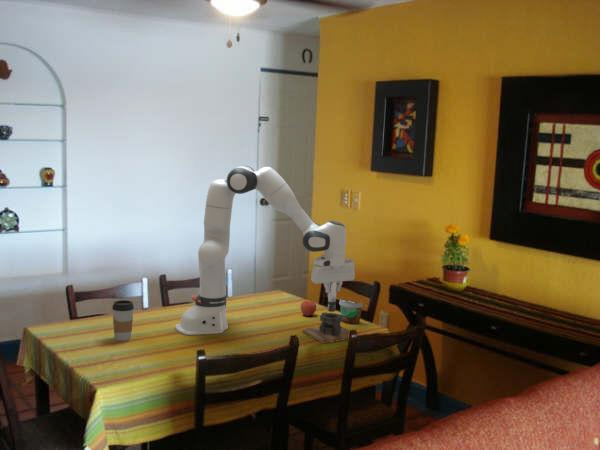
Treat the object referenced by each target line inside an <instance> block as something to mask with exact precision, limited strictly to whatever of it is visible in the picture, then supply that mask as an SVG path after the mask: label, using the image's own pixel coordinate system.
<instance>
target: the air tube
mask: <svg viewBox="0 0 600 450" xmlns="http://www.w3.org/2000/svg"><path fill="white" fill-rule="evenodd" d="M337 284H338V283H337V282H331V283H329V285H328V287H329V288H330V289H331V292H330V293H328V296H327V297H328V298H327V299H328V300H327V312H329V313H335V312H336V304H337V292H336V289H337Z"/></svg>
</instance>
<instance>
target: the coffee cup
mask: <svg viewBox="0 0 600 450" xmlns="http://www.w3.org/2000/svg"><path fill="white" fill-rule="evenodd" d="M133 303H134V302H133V301H131V300H126V299H125V300H124V299H123V300H122V299H121V300H115V301H114V302H113V304H112V308H111V309H112V321H113V334H114V337H113V338H114V339H115V341H116V342H128V341H130V340H131V338H132V330H133V319H134V317H133V315H134V309H135V308H134V304H133Z"/></svg>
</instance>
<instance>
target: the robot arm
mask: <svg viewBox="0 0 600 450" xmlns="http://www.w3.org/2000/svg"><path fill="white" fill-rule="evenodd" d="M229 171H230V172H229V173H228V174H227V176H226V178H225V179H220V178H219V179H215V180H212V181H211V183H210V184H209V188H208V192H207V194H206V201H205V208H204V216H203V217H204V218H203V219H204V220H203V229H204V232H203V234H204V235H203V242H202V244H201V245H200V246H199V248H198V253H197V254H198V271H199V293H198V296H196V295H192V296H191V297H190V299H191V300H192V302H195V303H194V304H193V305H192V306H191V307H189V308H188V309H187V310H185V311H184V312H183V313H182V314H181V319H180V322H179V323H176V324H175V327H174V328H175V330H176V331H177V332H178V333H180V334H183V335H185V336H195V335H196V336H197V335H198V336H199V335H215V334H223V333H224V331H226V330H227V329H229V325H228V320H227V312H226V308H227V294H226V292H227V290H226V289H227V285H226V284H227V275H226V257H227V256H228V254H229V250H230V238H231V220H232V214H233V213H232V212H233V211H232V209H233V203H234V202H233V201H234V198H235V195H236V194H238V195H243V194H245V193H249V192H251V191H254V190H256V191H258V192H259V193H260V194H261V195H262V196H263V198H264V199H265V201H266V202H267V203H268V204H269V205H270V206H271V207H272V208H273V209H275V210H276V211H277V212H280V213H283V214H285V215H287V216H288V217H290V219H292V221H293V222H294V223H295V224H296V226H297V227H298V228H299V229H300V231H301V232H302V235H303V237H302V244H303V246H304V248H305V249H306V250H308V251H309V252H315V253H316V252H322V251H323V254H322V255H320V256H319V257H316V258H314V259H313V261H312V263H313V264H314V265H312V269H311V274H310V275H311V276H310V280H311V281H312V283H314V284H316V285H319V284H323V286H324V289H325V293H327V294H329V293H330V292H331V289H330V288H329V283H331V282H337V289H336V293H339V292H340V291H341V290H340V289H341V287H342V285H343V282H350V281H354V279H355V278H356V271H355V261H354V259H352V258H346V245H347V228H346V226H345V225H344V224H343V223H342V222H339V221H334V220H329V221H327V222H326V223H324V224H322V225H320V224H319V223H316V222H315V221H314V220H313V219H312V218H311V217H310V216H309V215H308V213H307V212H306V211H305V210H304V209H303V208H302V206H301V205H300V203H299V201H298V200H297V197H296V195H295V194H294V192H293V190H292V189H291V187H290V186H289V184H288V183H287V182H286V180H285V179H284V178H283V177H282V176H281V175H280V174H279V173H278V171H276V170H275V169H274V168H272V167H271V166H264V167H261V168H260V169H258V170H256V171H255V170H254V168H252V167H251V166H248V165H244V164H243V165H238V166H236V167H234V168H233V169H232V170H229Z"/></svg>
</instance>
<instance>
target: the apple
mask: <svg viewBox="0 0 600 450" xmlns="http://www.w3.org/2000/svg"><path fill="white" fill-rule="evenodd" d="M300 310H301V313H302V314H303V315H304V316H306V317H307V316H310V317H312V316H313V315H314V314H315V313H316V311H317V303H316V302H315V301H314V300H304V301H302V302H301V303H300Z"/></svg>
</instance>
